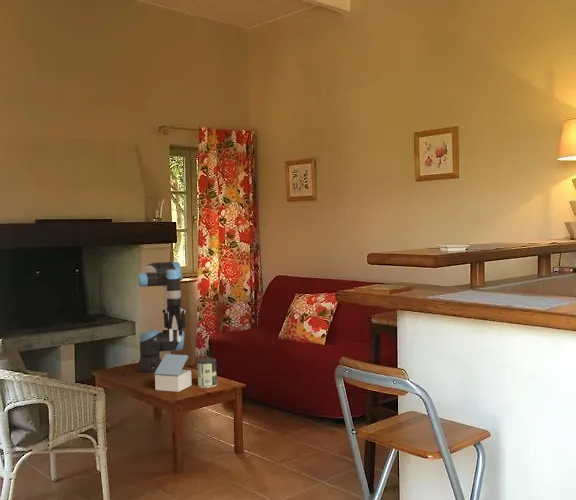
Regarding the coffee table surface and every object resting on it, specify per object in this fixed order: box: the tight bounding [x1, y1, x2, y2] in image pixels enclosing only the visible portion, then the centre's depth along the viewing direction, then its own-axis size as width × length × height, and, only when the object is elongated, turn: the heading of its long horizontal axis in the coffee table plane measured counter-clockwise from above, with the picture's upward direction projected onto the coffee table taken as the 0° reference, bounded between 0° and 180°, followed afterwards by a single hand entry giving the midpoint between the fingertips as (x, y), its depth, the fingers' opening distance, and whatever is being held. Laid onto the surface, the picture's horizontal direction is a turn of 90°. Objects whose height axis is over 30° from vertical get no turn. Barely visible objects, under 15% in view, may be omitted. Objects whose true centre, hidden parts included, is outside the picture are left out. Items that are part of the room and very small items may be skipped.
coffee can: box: [196, 357, 218, 389], centre depth 352 cm, size 10×10×14 cm
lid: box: [154, 353, 189, 376], centre depth 347 cm, size 14×14×1 cm
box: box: [154, 369, 192, 392], centre depth 349 cm, size 14×14×8 cm
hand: (175, 341), depth 351 cm, fingers open, 4 cm apart
